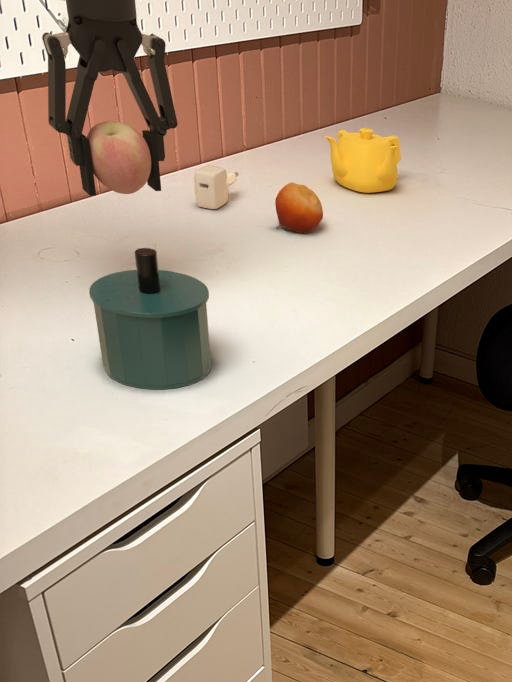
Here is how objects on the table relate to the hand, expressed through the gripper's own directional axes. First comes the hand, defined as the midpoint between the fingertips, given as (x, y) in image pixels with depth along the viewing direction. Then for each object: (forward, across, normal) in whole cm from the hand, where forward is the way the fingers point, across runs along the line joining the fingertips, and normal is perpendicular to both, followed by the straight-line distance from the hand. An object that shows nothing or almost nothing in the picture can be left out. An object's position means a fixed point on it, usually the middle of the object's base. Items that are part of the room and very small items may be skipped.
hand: (122, 189), depth 122 cm
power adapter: (+15, +29, +37) cm, 50 cm away
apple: (0, 0, 0) cm, 0 cm away
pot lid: (+6, -5, -19) cm, 21 cm away
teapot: (+15, +59, +38) cm, 72 cm away
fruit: (+15, +36, +20) cm, 44 cm away
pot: (+15, -5, -19) cm, 25 cm away
